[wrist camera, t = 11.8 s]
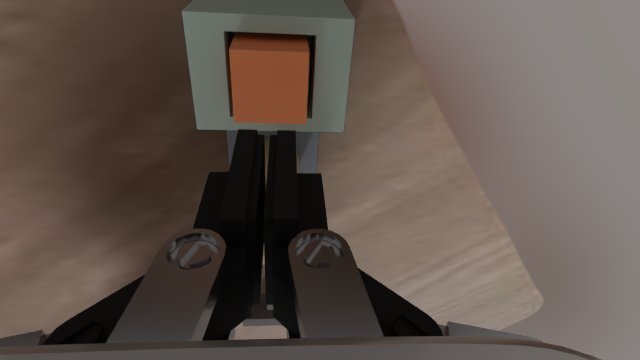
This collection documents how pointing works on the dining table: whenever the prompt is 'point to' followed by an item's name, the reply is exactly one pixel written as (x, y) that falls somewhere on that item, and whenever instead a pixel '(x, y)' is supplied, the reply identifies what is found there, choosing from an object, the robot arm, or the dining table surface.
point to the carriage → (304, 151)
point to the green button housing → (269, 17)
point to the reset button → (269, 77)
